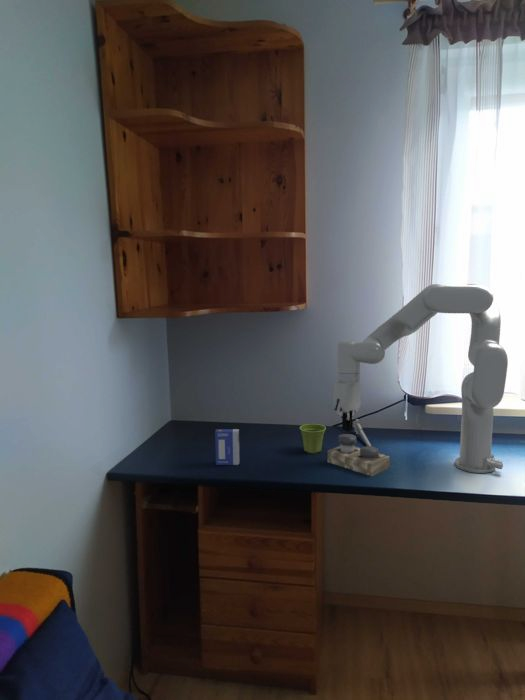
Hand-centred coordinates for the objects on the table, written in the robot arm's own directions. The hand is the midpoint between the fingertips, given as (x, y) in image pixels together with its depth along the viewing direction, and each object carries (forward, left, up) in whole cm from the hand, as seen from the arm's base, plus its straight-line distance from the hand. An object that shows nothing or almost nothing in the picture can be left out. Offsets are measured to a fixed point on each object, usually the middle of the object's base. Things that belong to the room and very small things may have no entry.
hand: (347, 430), depth 180 cm
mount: (-5, 0, -11) cm, 12 cm away
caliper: (+9, -22, -12) cm, 27 cm away
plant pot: (+15, 0, -11) cm, 19 cm away
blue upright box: (+27, +30, -11) cm, 42 cm away
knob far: (0, 0, -9) cm, 9 cm away
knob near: (-9, 0, -11) cm, 14 cm away
